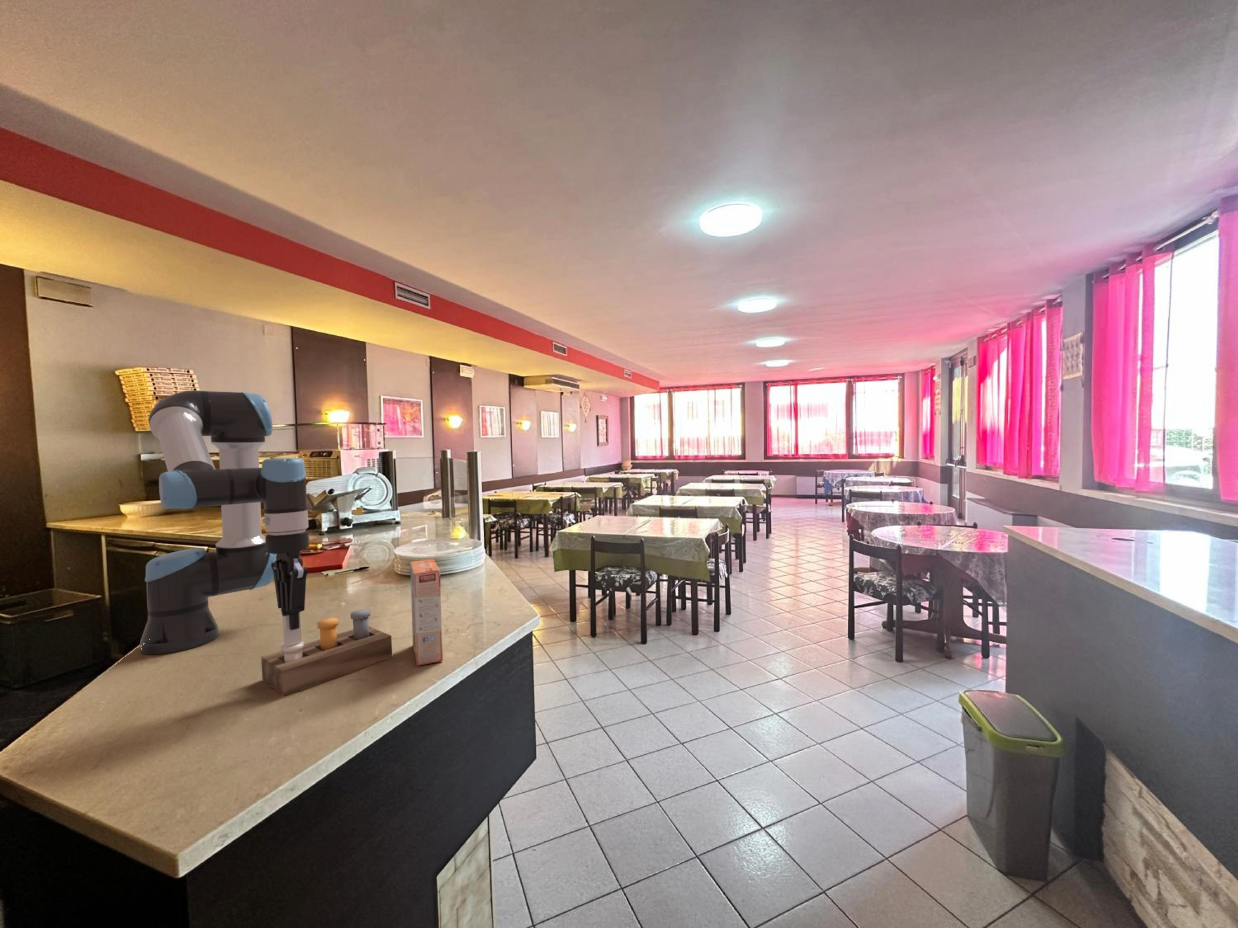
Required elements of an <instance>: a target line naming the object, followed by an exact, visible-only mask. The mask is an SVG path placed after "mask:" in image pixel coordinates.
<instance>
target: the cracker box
mask: <svg viewBox="0 0 1238 928" xmlns="http://www.w3.org/2000/svg"><path fill="white" fill-rule="evenodd" d="M409 564H410V565H409V568H410V570H409V571H410V572H409V573H410V594H411V595H410V596H411V601H410V602H411V624H412V625H411V627H412V628H411V630H412V631H411V632H412V647H413V648H412V649H413V653H414V658H415V659H414V660H415V664H416V666H417V667H419V666H424V665H428V664H434V663H439V662H443V660H444V659H443V658H444V657H443V653H444V652H443V627H442V624H443V623H442V598H441V596H442V595H441V594H442V593H441V592H442V591H441V570H440V568H439V566H438V565H437V563H436V561H435V559H433V558H431V559H429V558H428V559H421V560H414V561H413V560H412V561H410V563H409Z"/></svg>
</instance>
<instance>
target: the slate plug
mask: <svg viewBox="0 0 1238 928" xmlns="http://www.w3.org/2000/svg"><path fill="white" fill-rule="evenodd" d="M370 616H371V610H370V609H358V610H355V611H352V612H351V613H350V619H351V620H352V627H353V629H352V630H353V633H354V640H355V641H357V640H360V639H363V638H367V637H369V627H370V625H369V624H370V623H369V622H370V621H369V617H370Z"/></svg>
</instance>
